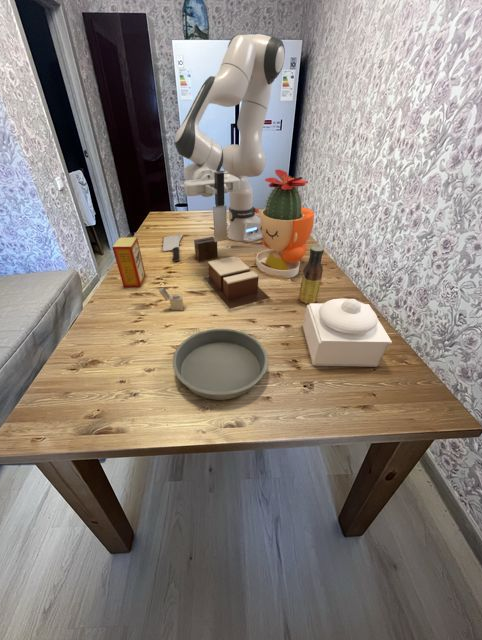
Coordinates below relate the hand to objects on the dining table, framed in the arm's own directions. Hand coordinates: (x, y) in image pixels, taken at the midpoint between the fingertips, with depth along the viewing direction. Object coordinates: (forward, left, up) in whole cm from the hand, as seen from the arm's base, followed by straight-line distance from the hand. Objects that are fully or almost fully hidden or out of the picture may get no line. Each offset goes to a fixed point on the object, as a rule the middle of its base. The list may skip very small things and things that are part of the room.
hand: (220, 191), depth 95 cm
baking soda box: (+33, -12, -31) cm, 47 cm away
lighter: (+25, +14, -31) cm, 43 cm away
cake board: (0, +12, -31) cm, 33 cm away
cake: (0, +6, -31) cm, 32 cm away
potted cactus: (-27, +2, -31) cm, 41 cm away
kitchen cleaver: (+10, -37, -31) cm, 49 cm away
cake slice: (0, +17, -30) cm, 34 cm away
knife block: (-1, -20, -31) cm, 37 cm away
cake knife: (0, -1, -17) cm, 17 cm away
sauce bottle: (-19, +31, -31) cm, 48 cm away
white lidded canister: (-13, +54, -31) cm, 64 cm away
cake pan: (+22, +48, -31) cm, 62 cm away
